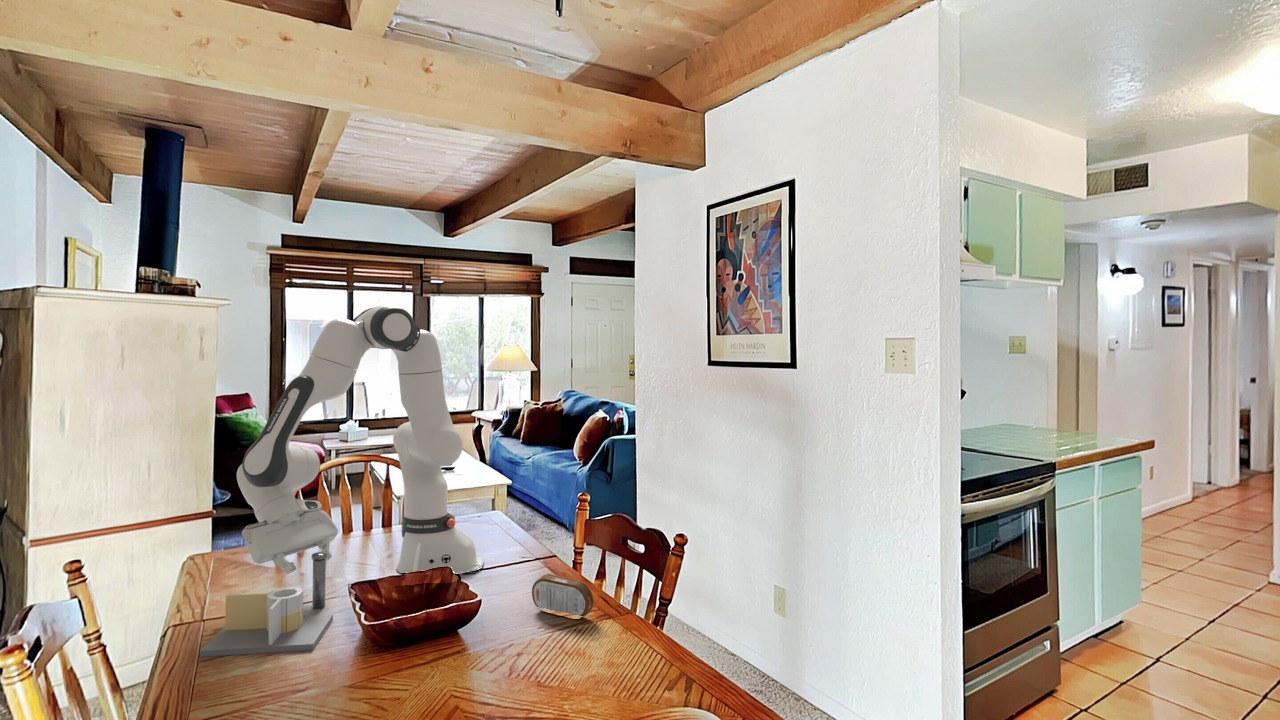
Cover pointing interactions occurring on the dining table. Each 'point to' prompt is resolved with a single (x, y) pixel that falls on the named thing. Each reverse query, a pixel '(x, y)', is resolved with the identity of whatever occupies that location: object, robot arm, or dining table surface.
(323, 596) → the hinge pin
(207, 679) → the dining table surface
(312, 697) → the dining table surface
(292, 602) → the hinge
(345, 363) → the robot arm
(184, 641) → the dining table surface
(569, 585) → the tin
